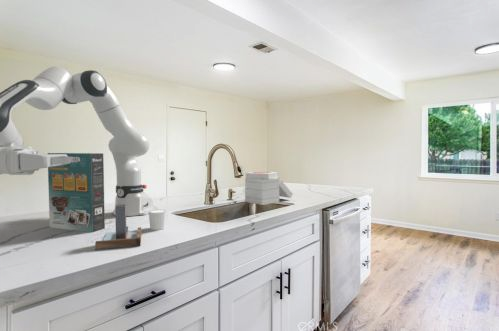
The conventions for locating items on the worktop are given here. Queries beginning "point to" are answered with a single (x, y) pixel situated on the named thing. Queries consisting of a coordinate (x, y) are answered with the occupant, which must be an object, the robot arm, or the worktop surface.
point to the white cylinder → (157, 219)
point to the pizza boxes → (264, 188)
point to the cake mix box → (77, 193)
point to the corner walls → (119, 242)
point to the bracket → (121, 222)
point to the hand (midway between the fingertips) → (74, 160)
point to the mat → (113, 237)
